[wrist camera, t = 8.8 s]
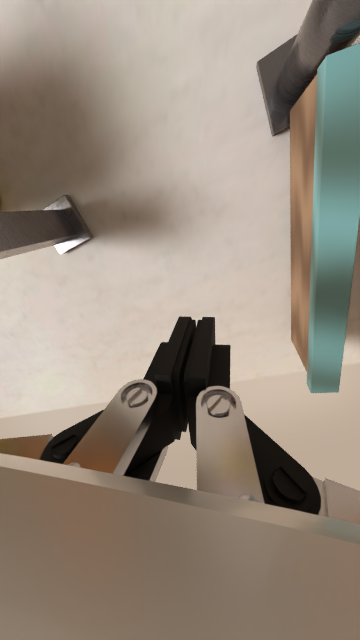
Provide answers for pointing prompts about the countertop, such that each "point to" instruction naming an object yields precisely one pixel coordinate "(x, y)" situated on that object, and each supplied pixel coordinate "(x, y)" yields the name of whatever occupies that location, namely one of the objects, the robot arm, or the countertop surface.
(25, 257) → the countertop surface
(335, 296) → the panel
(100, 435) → the robot arm
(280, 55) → the gate frame
